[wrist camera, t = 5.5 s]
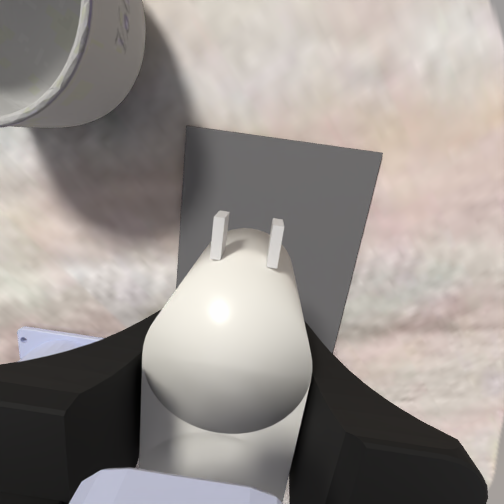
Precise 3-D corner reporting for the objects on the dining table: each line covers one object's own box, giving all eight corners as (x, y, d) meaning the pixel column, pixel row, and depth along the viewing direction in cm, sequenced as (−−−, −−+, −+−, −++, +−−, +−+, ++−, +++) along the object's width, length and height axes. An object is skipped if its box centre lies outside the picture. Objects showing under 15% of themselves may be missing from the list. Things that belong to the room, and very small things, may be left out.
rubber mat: (327, 369, 23) (327, 372, 23) (173, 346, 24) (172, 348, 23) (381, 152, 19) (382, 153, 18) (187, 126, 19) (186, 125, 18)
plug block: (270, 394, 15) (271, 548, 9) (189, 382, 15) (137, 526, 9) (306, 208, 12) (339, 255, 6) (205, 194, 12) (146, 227, 6)
